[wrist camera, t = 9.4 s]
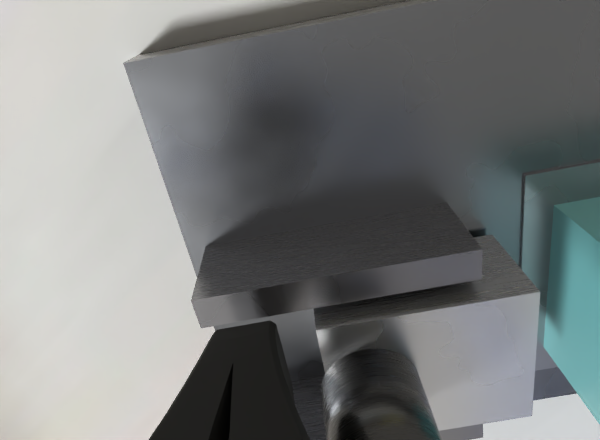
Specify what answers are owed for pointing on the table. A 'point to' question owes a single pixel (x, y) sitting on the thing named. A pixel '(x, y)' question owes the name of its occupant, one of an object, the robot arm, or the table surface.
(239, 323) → the press bed
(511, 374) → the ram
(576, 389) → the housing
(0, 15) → the table surface
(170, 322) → the table surface
